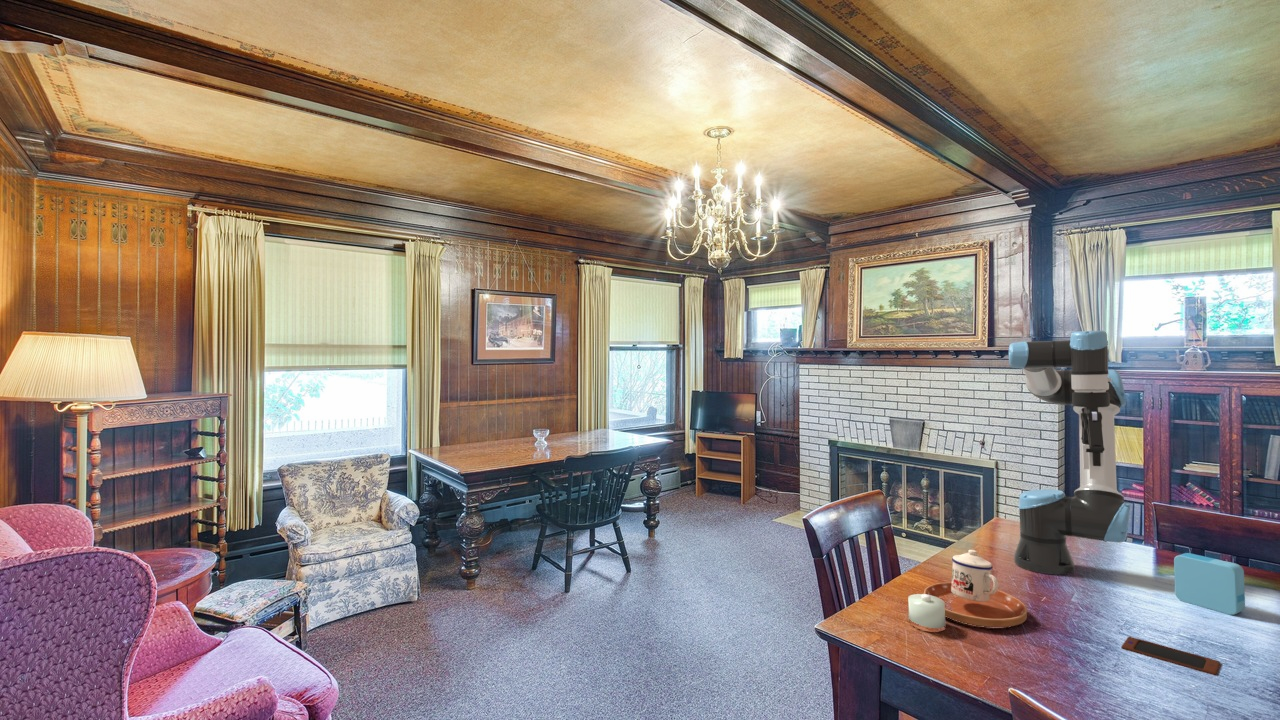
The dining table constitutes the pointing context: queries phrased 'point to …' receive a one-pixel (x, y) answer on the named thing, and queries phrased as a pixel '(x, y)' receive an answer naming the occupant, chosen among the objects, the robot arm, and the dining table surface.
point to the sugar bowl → (927, 610)
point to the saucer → (982, 608)
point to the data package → (1209, 583)
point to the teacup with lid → (972, 577)
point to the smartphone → (1172, 655)
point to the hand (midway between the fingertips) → (1093, 474)
